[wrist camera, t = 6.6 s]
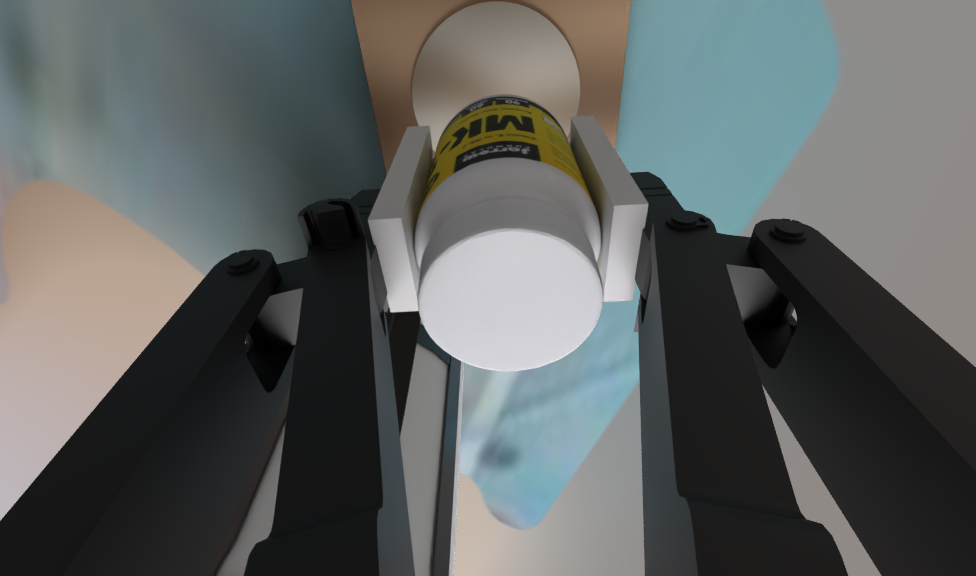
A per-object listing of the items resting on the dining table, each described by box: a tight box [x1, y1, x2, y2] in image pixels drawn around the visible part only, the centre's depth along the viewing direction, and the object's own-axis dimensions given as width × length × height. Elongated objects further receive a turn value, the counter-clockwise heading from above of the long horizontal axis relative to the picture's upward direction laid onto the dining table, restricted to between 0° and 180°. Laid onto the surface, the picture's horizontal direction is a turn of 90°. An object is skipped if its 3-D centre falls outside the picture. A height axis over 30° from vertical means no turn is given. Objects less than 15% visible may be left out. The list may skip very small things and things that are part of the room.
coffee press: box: [206, 297, 464, 576], centre depth 22 cm, size 17×16×30 cm
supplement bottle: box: [414, 94, 604, 371], centre depth 13 cm, size 5×5×8 cm
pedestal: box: [351, 0, 631, 174], centre depth 23 cm, size 12×12×3 cm
